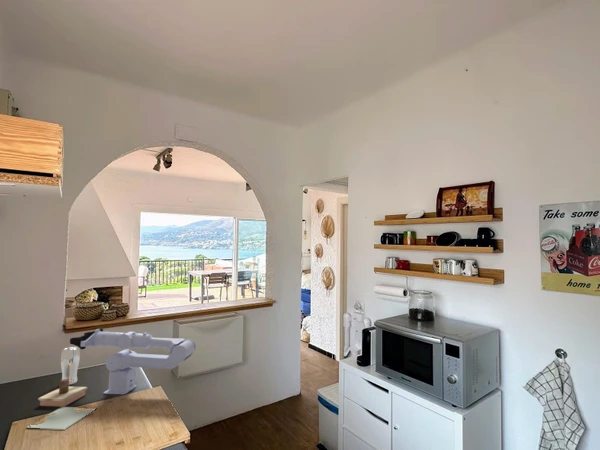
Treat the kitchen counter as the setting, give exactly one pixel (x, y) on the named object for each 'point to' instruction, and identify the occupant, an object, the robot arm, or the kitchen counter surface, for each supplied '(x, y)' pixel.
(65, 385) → the lid
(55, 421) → the mat
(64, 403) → the dish
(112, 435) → the kitchen counter surface
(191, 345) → the robot arm
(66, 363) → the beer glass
